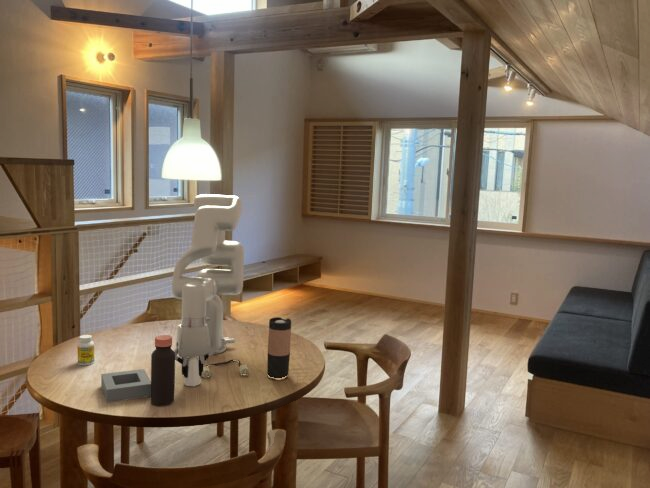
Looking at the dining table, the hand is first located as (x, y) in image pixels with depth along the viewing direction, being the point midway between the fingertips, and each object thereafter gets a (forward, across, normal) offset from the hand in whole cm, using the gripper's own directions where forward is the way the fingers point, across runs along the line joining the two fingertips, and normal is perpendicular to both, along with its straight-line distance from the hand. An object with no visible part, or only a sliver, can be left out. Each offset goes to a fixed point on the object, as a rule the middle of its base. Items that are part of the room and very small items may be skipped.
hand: (192, 374), depth 179 cm
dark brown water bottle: (+3, +12, +10) cm, 16 cm away
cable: (+4, -13, -8) cm, 16 cm away
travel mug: (+3, -29, +4) cm, 29 cm away
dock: (+3, +20, -2) cm, 20 cm away
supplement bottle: (+4, +29, -30) cm, 42 cm away
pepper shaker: (+3, 0, 0) cm, 3 cm away
